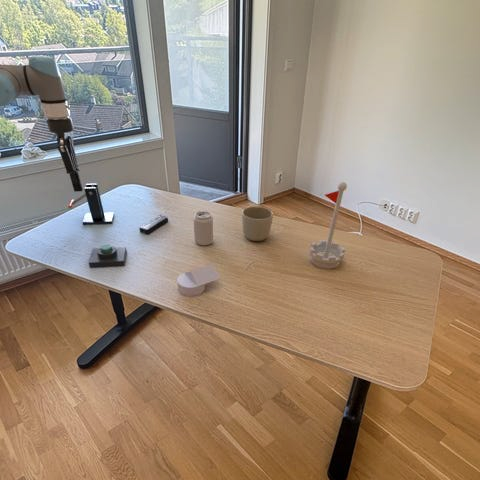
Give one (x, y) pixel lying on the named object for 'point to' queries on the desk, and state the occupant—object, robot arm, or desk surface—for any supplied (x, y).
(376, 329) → the desk surface
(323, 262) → the flag stand
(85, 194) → the lever
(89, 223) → the bracket
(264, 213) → the planter
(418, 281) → the desk surface
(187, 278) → the wedge on round base
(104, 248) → the button
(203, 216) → the can
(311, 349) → the desk surface
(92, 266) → the button box
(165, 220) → the multiport hub
